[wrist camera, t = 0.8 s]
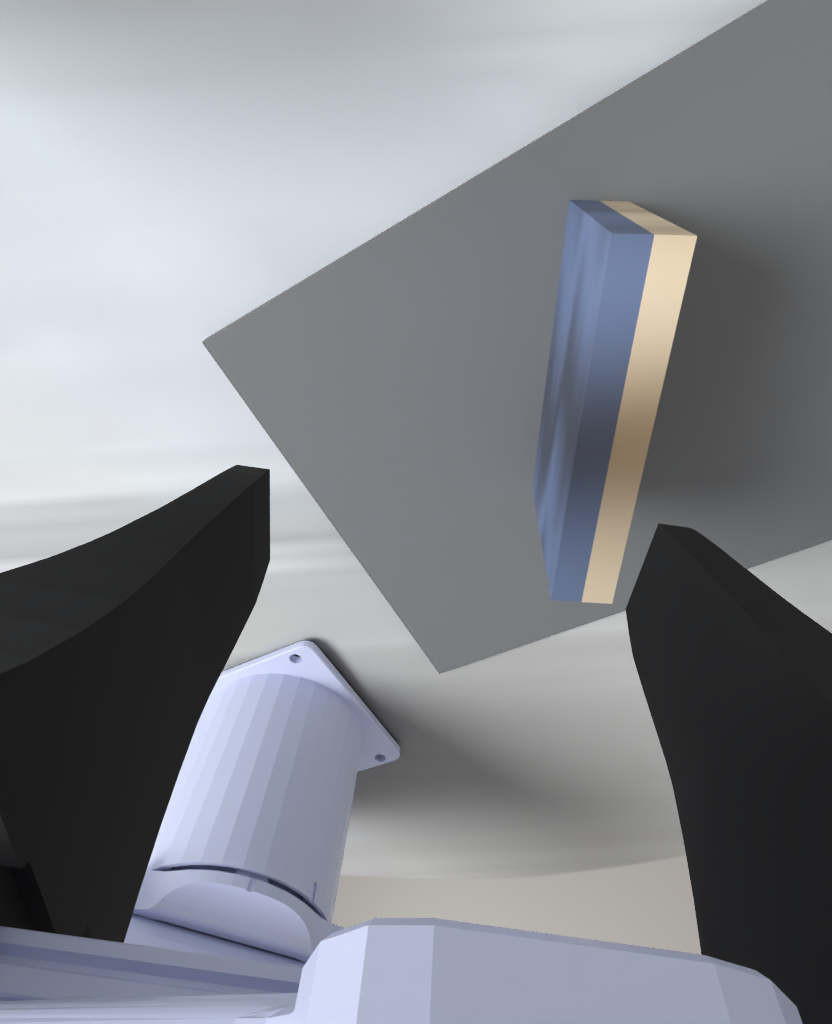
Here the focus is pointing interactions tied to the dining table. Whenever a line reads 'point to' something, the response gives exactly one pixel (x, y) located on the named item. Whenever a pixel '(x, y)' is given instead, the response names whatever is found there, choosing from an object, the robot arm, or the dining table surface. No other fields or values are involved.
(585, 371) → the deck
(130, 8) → the dining table surface
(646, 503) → the mat
